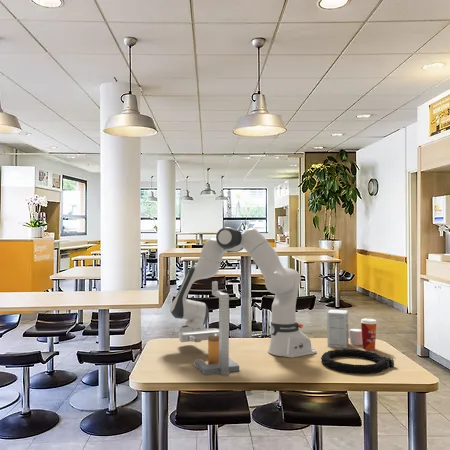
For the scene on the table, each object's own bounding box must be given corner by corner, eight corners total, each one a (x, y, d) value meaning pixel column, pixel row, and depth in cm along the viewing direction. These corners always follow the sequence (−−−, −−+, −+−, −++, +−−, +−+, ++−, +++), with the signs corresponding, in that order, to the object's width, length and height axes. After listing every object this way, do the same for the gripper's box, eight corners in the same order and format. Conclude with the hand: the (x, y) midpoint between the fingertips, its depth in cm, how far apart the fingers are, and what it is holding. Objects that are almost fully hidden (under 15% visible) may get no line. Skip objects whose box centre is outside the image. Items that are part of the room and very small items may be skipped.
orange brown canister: (217, 363, 195) (217, 335, 196) (221, 366, 191) (221, 338, 191) (206, 364, 194) (206, 336, 194) (210, 367, 189) (210, 339, 189)
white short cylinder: (346, 342, 231) (346, 329, 231) (357, 341, 233) (357, 327, 233) (355, 346, 224) (355, 331, 224) (366, 344, 227) (366, 330, 227)
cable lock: (321, 346, 211) (389, 350, 205) (321, 354, 211) (389, 358, 205) (320, 363, 184) (398, 368, 178) (320, 372, 184) (398, 378, 178)
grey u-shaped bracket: (227, 361, 199) (227, 356, 199) (239, 370, 185) (239, 365, 185) (194, 364, 193) (194, 359, 193) (204, 374, 180) (204, 369, 180)
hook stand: (217, 365, 193) (217, 281, 193) (228, 374, 180) (228, 285, 180) (210, 365, 192) (210, 281, 192) (221, 375, 179) (221, 285, 179)
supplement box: (348, 343, 229) (349, 310, 229) (346, 348, 220) (346, 313, 220) (329, 341, 232) (329, 309, 232) (326, 346, 224) (326, 312, 224)
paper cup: (371, 351, 214) (371, 322, 214) (357, 348, 220) (357, 319, 220) (380, 348, 219) (380, 319, 219) (366, 345, 225) (366, 317, 225)
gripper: (217, 337, 219) (227, 344, 206) (176, 340, 212) (183, 348, 199) (217, 324, 219) (227, 330, 206) (176, 327, 212) (183, 333, 199)
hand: (205, 339), depth 203 cm, fingers open, 8 cm apart
